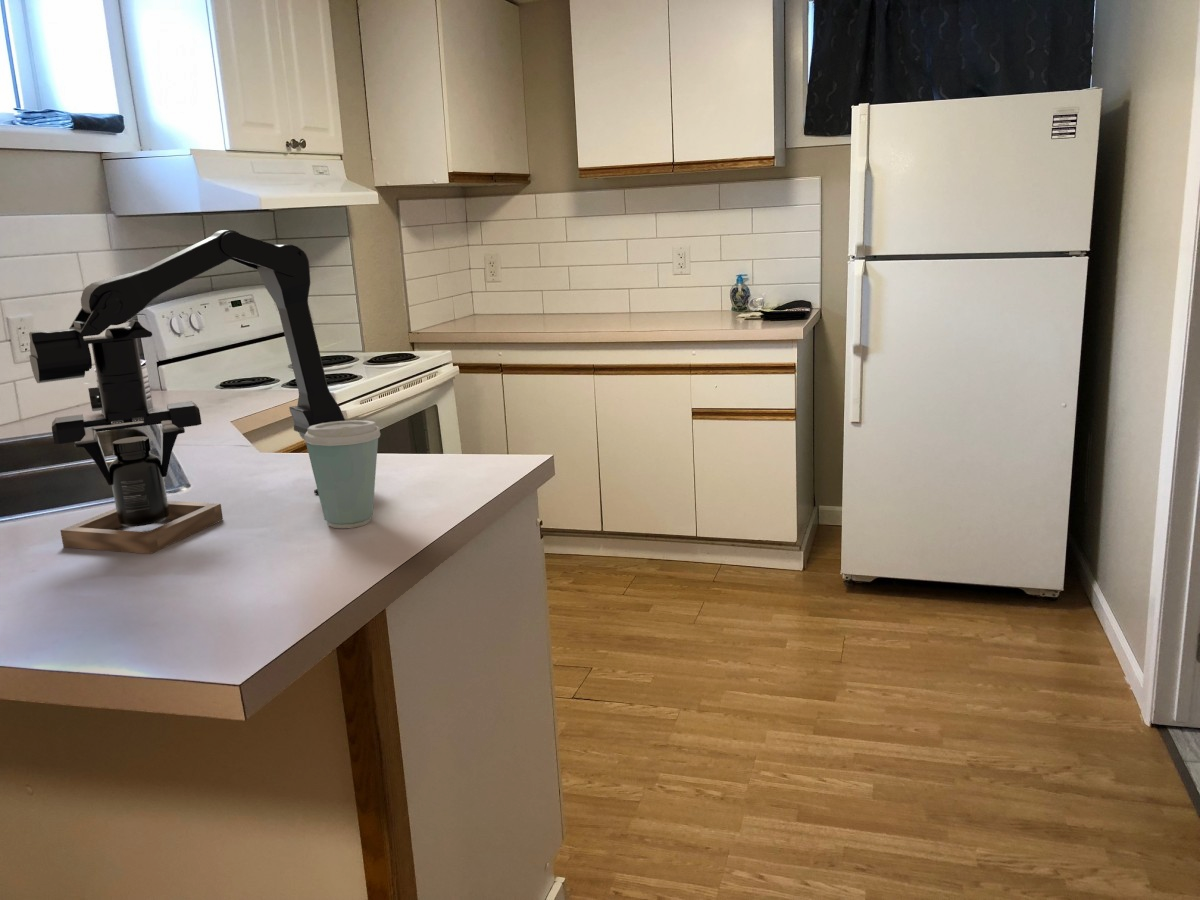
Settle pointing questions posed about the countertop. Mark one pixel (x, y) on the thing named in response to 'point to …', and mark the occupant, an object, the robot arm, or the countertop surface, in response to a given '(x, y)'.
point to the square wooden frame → (105, 537)
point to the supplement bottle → (138, 483)
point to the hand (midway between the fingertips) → (137, 480)
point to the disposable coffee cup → (344, 469)
